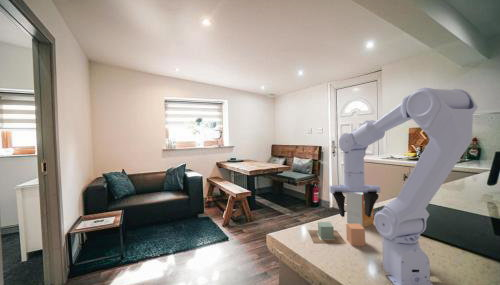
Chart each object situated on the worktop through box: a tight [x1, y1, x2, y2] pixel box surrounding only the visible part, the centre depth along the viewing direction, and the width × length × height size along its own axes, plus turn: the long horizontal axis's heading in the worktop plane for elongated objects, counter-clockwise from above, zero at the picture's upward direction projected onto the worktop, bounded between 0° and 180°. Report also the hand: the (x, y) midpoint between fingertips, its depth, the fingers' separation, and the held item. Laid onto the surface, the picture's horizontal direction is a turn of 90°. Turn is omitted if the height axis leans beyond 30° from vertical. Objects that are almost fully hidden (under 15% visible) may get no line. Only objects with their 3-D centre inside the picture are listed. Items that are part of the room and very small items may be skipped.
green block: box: [317, 221, 334, 239], centre depth 71 cm, size 4×4×4 cm
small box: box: [345, 193, 375, 228], centre depth 82 cm, size 8×6×13 cm
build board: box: [307, 229, 347, 245], centre depth 71 cm, size 10×10×1 cm
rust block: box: [345, 223, 366, 247], centre depth 66 cm, size 4×4×6 cm
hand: (354, 215), depth 66 cm, fingers open, 7 cm apart
